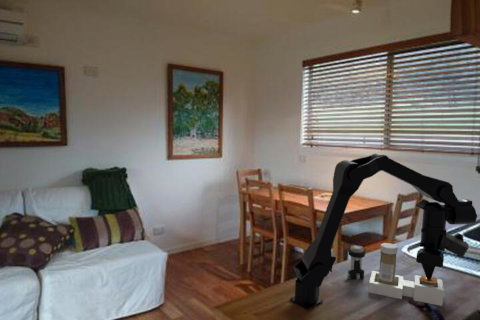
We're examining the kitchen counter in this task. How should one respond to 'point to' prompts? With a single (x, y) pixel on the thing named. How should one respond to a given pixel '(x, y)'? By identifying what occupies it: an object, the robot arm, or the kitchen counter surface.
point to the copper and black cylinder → (428, 281)
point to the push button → (356, 262)
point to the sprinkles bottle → (387, 263)
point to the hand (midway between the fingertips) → (428, 278)
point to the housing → (408, 289)
